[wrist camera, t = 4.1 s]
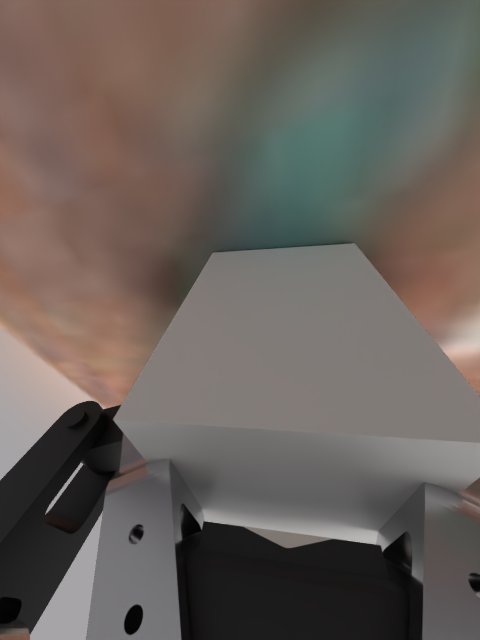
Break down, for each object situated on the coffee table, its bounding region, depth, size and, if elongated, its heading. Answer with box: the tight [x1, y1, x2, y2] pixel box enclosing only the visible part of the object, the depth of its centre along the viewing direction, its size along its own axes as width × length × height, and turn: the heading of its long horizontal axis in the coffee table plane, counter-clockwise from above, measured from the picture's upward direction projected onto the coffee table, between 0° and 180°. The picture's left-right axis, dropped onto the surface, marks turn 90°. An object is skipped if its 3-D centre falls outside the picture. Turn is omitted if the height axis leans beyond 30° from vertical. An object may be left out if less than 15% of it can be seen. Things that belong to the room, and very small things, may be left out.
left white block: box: [113, 243, 480, 544], centre depth 8 cm, size 6×6×8 cm
